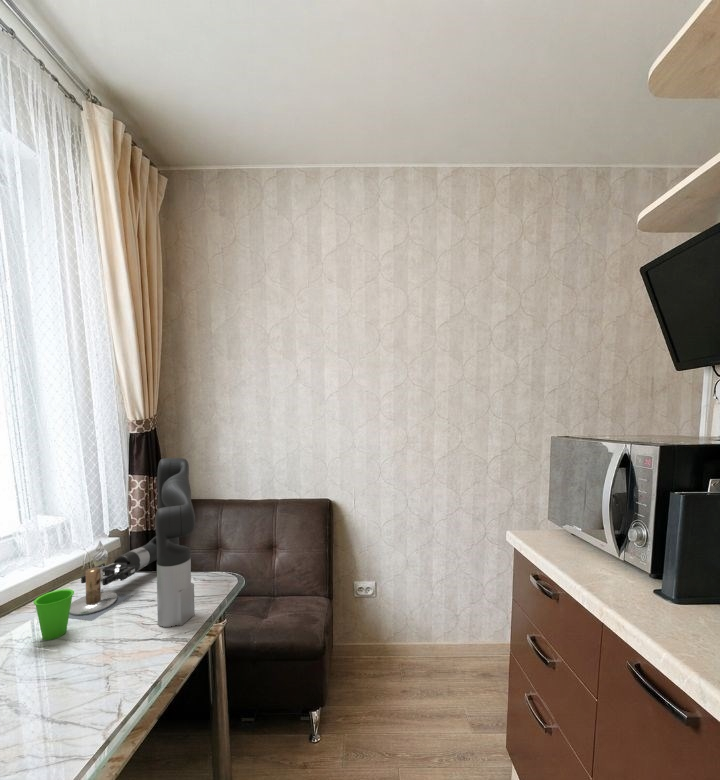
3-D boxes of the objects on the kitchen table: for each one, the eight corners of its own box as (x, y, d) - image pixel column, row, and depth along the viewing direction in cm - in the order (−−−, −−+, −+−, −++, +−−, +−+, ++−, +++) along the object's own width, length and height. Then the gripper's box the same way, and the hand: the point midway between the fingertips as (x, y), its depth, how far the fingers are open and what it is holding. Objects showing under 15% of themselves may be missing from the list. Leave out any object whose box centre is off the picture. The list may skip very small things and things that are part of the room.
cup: (39, 650, 106) (39, 607, 106) (29, 638, 111) (29, 598, 111) (79, 633, 113) (79, 594, 113) (67, 623, 118) (67, 586, 119)
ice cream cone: (89, 583, 146) (88, 541, 146) (102, 577, 150) (102, 537, 151) (98, 585, 144) (98, 543, 144) (112, 579, 149) (111, 538, 149)
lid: (126, 597, 133) (126, 563, 134) (91, 617, 121) (91, 580, 121) (94, 593, 136) (94, 560, 137) (57, 613, 124) (57, 576, 124)
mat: (133, 596, 134) (133, 595, 134) (91, 622, 119) (91, 620, 119) (95, 592, 138) (95, 591, 138) (49, 617, 122) (49, 615, 122)
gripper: (116, 550, 146) (74, 568, 130) (148, 552, 143) (110, 571, 127) (116, 570, 146) (74, 591, 130) (149, 573, 142) (110, 595, 127)
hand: (92, 581), depth 128 cm, fingers open, 8 cm apart
